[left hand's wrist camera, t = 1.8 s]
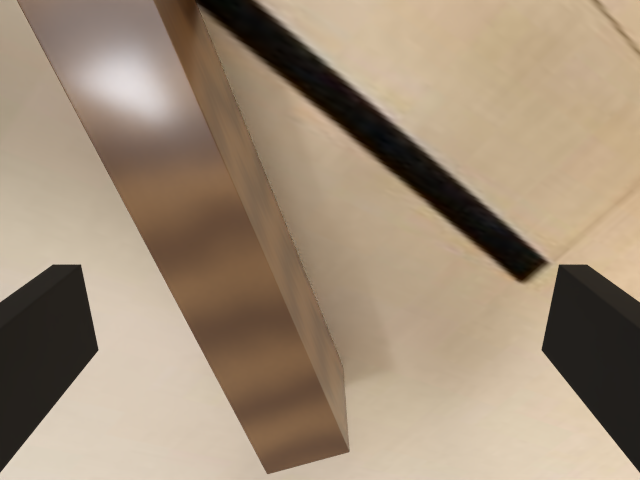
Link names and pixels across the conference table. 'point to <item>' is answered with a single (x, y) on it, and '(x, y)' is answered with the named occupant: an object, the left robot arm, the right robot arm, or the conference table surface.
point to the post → (203, 211)
